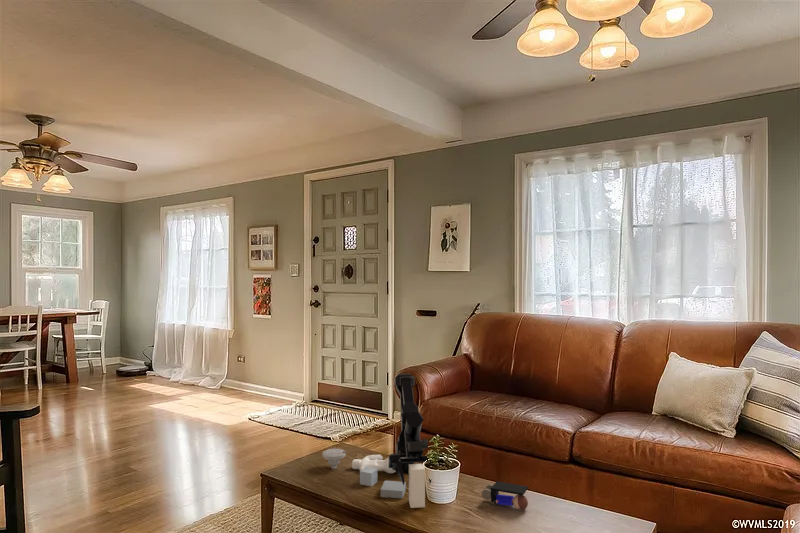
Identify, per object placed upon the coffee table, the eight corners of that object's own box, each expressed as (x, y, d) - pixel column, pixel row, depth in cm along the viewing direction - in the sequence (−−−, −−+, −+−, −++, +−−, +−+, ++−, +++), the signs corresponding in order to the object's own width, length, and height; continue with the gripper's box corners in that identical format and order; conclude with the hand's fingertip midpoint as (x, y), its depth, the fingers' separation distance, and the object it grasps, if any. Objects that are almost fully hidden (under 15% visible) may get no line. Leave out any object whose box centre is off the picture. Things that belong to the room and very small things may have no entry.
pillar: (408, 501, 176) (408, 464, 176) (422, 500, 176) (422, 463, 176) (410, 507, 171) (410, 469, 171) (424, 507, 171) (424, 469, 171)
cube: (366, 479, 195) (366, 466, 195) (377, 481, 193) (377, 468, 193) (359, 484, 190) (359, 471, 190) (371, 486, 188) (371, 473, 188)
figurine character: (482, 509, 172) (525, 514, 165) (479, 486, 173) (522, 491, 166) (489, 501, 178) (531, 506, 171) (486, 479, 179) (528, 483, 171)
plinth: (384, 488, 187) (384, 480, 187) (405, 490, 186) (405, 481, 186) (380, 497, 179) (380, 489, 179) (402, 499, 178) (402, 491, 178)
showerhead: (343, 454, 201) (319, 453, 203) (343, 472, 201) (319, 471, 203) (349, 446, 211) (326, 445, 212) (349, 464, 211) (326, 462, 212)
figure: (402, 463, 207) (358, 461, 212) (400, 449, 205) (355, 448, 210) (396, 482, 196) (349, 480, 202) (393, 468, 195) (346, 466, 200)
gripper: (388, 431, 178) (391, 474, 166) (440, 429, 179) (446, 472, 168) (387, 446, 185) (389, 488, 174) (436, 444, 187) (442, 486, 176)
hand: (417, 483), depth 173 cm, fingers open, 9 cm apart
